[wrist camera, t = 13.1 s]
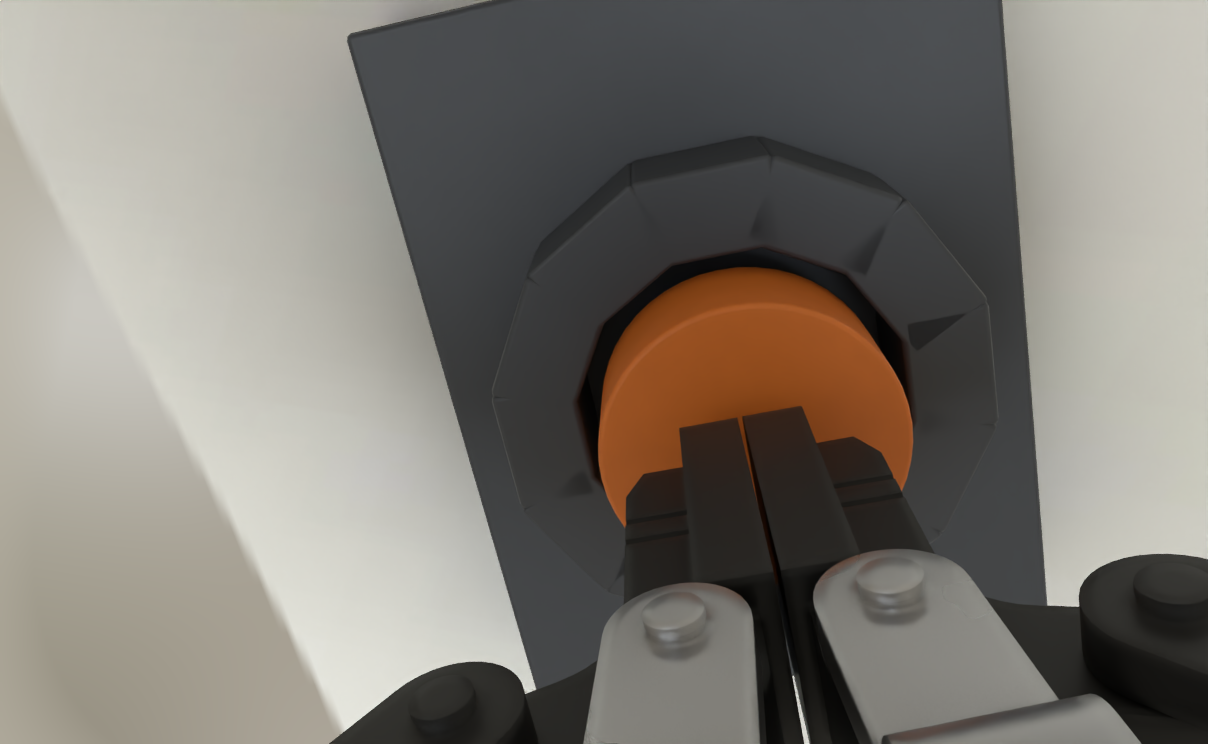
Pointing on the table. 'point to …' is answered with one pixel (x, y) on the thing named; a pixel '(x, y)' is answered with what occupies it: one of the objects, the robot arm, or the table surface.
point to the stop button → (744, 373)
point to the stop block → (707, 245)
